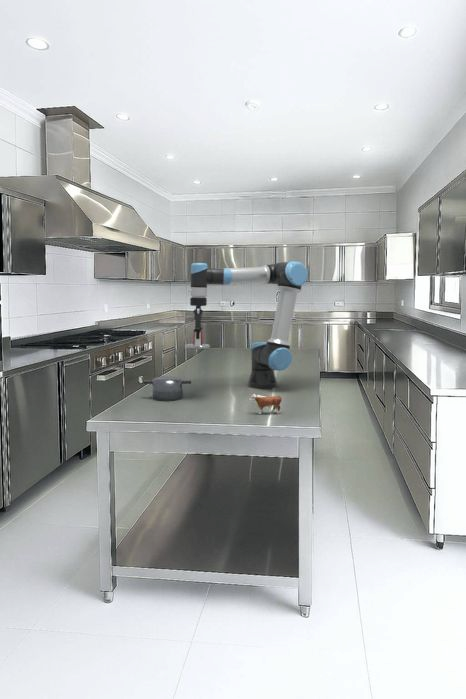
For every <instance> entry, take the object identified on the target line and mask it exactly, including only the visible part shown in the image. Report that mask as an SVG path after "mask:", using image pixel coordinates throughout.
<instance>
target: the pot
mask: <svg viewBox="0 0 466 699" xmlns="http://www.w3.org/2000/svg"><path fill="white" fill-rule="evenodd" d="M142 383H143V385H152V386H151V387H152V400H154V401H157V402H175V401H180V400H182V399H184V394H183V393H184V388H183V387H184V385H186V384H188V385H190V384H192V379H183V377H179V376H170V375H169V376H167V375H166V376H157V377H154V378H152V379H151V380H150V379H149V380H147V379H145V380H143V382H142Z"/></svg>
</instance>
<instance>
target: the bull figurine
mask: <svg viewBox="0 0 466 699" xmlns="http://www.w3.org/2000/svg"><path fill="white" fill-rule="evenodd" d="M248 401H249V402H252V403H254V405H255V406H256V407H257V408H259V412H258V416H259V415H261V414H263V413H264V411H263V408H265V407H266V408H268V409H269V410H270V409H271V408H272V409H271V410H270V413H274V412H275V410H277V411H276V414H277V415H279V413H280V410H281V406H280V404H281V403H282V397H281V396H280V395H275V396H273V395H272V396H265V395H260V394H255V393H253V394H252V395H251V396H250V398H249V399H248Z"/></svg>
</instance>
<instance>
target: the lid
mask: <svg viewBox="0 0 466 699" xmlns="http://www.w3.org/2000/svg"><path fill="white" fill-rule="evenodd" d="M192 331H193V336H192V338H193V339H192V340H193V342H192V343H187V344H185V348H186V349H188V350H209V349H210V348H211V345H210V344H208V343H207V344H206V343H203V342H204V340H203V339H204V330H201V346H195V332H194V330H192Z"/></svg>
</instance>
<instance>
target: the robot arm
mask: <svg viewBox="0 0 466 699" xmlns="http://www.w3.org/2000/svg"><path fill="white" fill-rule="evenodd" d="M308 274H309V273H308V269H307V267H306V266H305V265H304V263H302V262H300V261H296V260H294V261H282V262H281V261H280V262H277V263H272V264H264V265H262V266H256V267H255V266H250V267H248V266H247V267H230V268H229V267H228V268H227V267H225V268H223V267H222V268H221V267H220V268H215V267H213V268H212V267H208V264H207V263H206V262H205V263H204V262H203V263H202V262H193V263H192V264H191V266H190V289H189V290H188V292H190V298H189V300H190V301H189V302H190V303H189V304H190V306H194V307H195V308H194V309H193V314H194V320H195V321H194V322H195V324H194V325H195V326H194V327H195V328H194V329H193V331H194V332H195V346H201V331H202V330H203V327H202V326H201V325H202V322H201V321H202V319H203V309H202V307H205V306H207V304H208V303H207V302H208V300H207V297H208V285H214V286H215V285H219V286H220V285H221V286H226V285H227V286H228V285H230V284H248V283H249V284H250V283H263V284H265V285H266V284H267V285H268V284H269V285H276V286H277V288H278V290H279V294H278V298H277V304H276V311H275V315H274V320H273V327H272V332H271V337H270V338H269V339H268V340H267V341H264V342H263V341H261V342H260V341H259V342H253V343H252V344H251V349H250V350H251V370H250V375H249V377H248V381H247V386H248V387H250V388H254V389H272V388H273V389H274V388H277V387H278V381H277V378H276V374H275V371H276V372H277V371H278V372H280V371H285V370H287V369H288V368H289V367H290V365H291V364H292V360H293V354H292V352H291V351H290V348H291V344H290V342H289V337H290V332H291V326H292V322H293V316H294V313H295V306H296V300H297V295H298V293H300V292H301V291H302V286H303V285H304V284H305V283H306V282H307V280H308V277H309V275H308Z"/></svg>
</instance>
